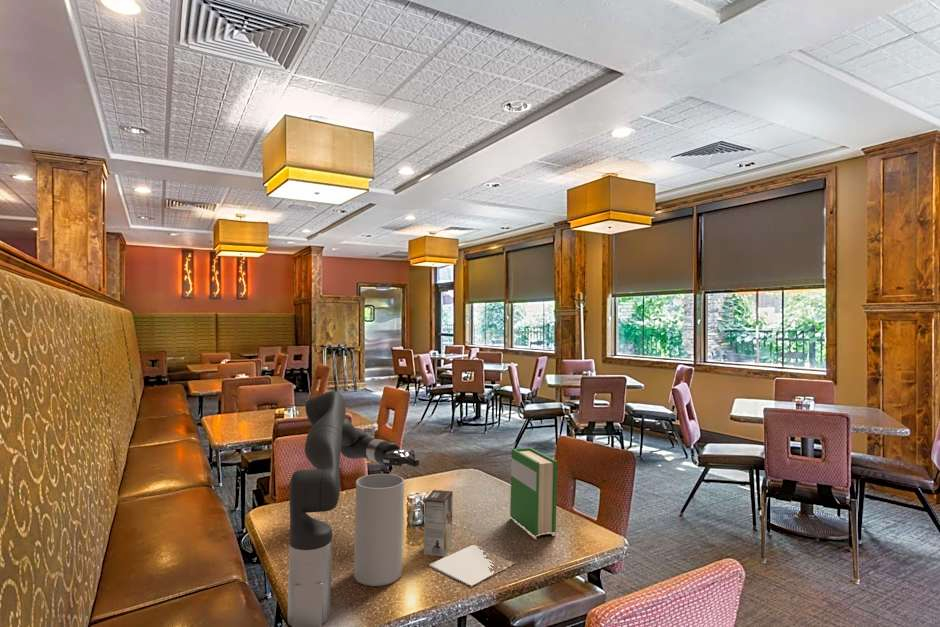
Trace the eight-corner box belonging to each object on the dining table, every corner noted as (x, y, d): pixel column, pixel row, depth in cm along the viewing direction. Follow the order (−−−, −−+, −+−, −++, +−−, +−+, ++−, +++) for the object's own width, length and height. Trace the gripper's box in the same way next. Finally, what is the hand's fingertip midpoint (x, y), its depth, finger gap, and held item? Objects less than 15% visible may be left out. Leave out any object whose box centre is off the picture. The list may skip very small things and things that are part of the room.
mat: (515, 564, 146) (515, 562, 146) (471, 587, 133) (471, 585, 133) (473, 546, 157) (473, 544, 157) (429, 566, 144) (429, 564, 144)
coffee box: (431, 541, 160) (433, 489, 160) (452, 543, 158) (453, 490, 159) (423, 554, 151) (424, 499, 151) (444, 557, 149) (445, 501, 150)
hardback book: (555, 536, 165) (557, 460, 166) (535, 539, 163) (536, 462, 163) (529, 516, 182) (530, 447, 182) (510, 519, 179) (511, 449, 179)
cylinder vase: (380, 559, 147) (382, 471, 147) (411, 574, 139) (413, 480, 139) (343, 576, 137) (346, 481, 137) (375, 593, 129) (377, 492, 130)
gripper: (366, 444, 169) (401, 454, 157) (398, 437, 178) (433, 447, 166) (365, 467, 169) (400, 479, 157) (398, 459, 178) (432, 470, 166)
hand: (417, 463), depth 162 cm, fingers closed
